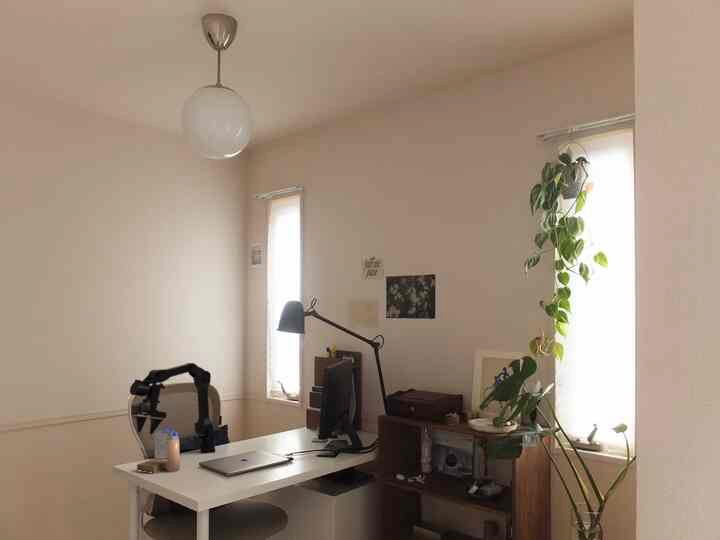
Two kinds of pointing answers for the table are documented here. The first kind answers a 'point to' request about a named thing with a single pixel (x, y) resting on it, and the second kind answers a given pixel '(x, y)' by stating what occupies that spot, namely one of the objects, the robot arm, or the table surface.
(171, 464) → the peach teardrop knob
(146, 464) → the walnut plinth
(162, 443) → the ink cartridge box
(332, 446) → the table surface
